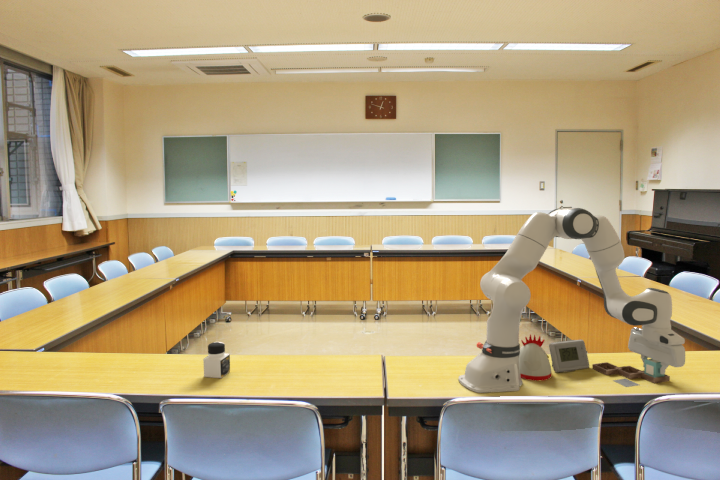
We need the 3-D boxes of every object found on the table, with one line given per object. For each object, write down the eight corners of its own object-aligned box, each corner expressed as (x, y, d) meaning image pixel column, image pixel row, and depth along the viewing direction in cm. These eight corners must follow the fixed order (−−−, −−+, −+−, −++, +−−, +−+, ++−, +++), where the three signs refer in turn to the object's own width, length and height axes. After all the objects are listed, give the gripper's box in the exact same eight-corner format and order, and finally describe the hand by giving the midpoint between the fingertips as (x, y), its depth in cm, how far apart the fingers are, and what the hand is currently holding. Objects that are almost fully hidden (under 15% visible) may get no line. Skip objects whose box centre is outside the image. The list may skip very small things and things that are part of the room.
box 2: (630, 380, 168) (630, 374, 168) (614, 373, 175) (614, 367, 175) (645, 378, 170) (645, 372, 170) (628, 371, 177) (629, 365, 177)
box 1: (606, 376, 172) (607, 370, 172) (592, 369, 179) (592, 364, 179) (621, 374, 174) (622, 368, 174) (606, 367, 181) (607, 362, 181)
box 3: (654, 384, 165) (654, 378, 164) (637, 377, 171) (637, 371, 171) (669, 382, 167) (669, 376, 166) (652, 375, 173) (652, 369, 173)
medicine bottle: (221, 378, 171) (220, 346, 170) (203, 377, 173) (202, 345, 172) (230, 371, 178) (229, 340, 177) (213, 370, 180) (212, 339, 179)
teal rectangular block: (654, 381, 166) (655, 363, 165) (643, 377, 170) (644, 359, 170) (664, 379, 167) (664, 361, 167) (652, 375, 172) (653, 358, 171)
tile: (626, 388, 162) (626, 387, 161) (612, 381, 167) (612, 380, 167) (639, 385, 163) (639, 384, 163) (625, 379, 169) (625, 378, 169)
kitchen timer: (552, 382, 167) (553, 341, 165) (511, 378, 171) (512, 338, 170) (550, 369, 180) (551, 331, 178) (512, 365, 184) (513, 328, 183)
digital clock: (554, 374, 175) (555, 346, 174) (542, 365, 184) (543, 339, 183) (595, 372, 176) (596, 344, 175) (581, 363, 185) (582, 337, 184)
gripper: (624, 326, 176) (623, 362, 177) (675, 342, 157) (673, 382, 158) (637, 325, 178) (636, 360, 179) (689, 340, 159) (687, 380, 160)
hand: (654, 370), depth 169 cm, fingers closed on teal rectangular block, 4 cm apart
